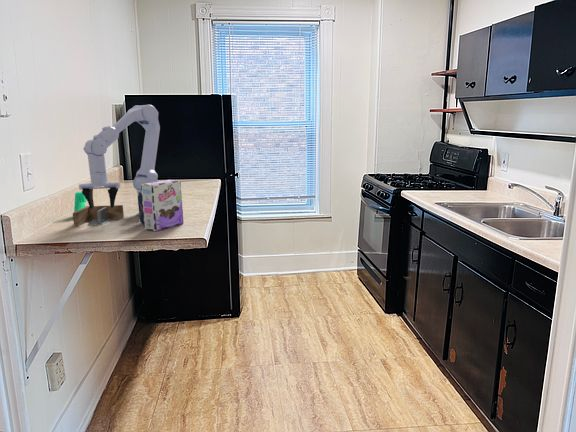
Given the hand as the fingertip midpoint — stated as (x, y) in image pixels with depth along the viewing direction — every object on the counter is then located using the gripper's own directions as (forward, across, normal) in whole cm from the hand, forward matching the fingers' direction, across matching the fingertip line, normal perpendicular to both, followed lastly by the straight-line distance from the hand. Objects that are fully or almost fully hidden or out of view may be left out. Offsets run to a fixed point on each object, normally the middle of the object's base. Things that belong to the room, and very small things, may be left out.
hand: (102, 207), depth 171 cm
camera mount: (+6, -11, +14) cm, 19 cm away
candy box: (+6, +25, -12) cm, 29 cm away
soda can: (+6, +18, -5) cm, 20 cm away
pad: (+6, -2, 0) cm, 6 cm away
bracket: (+6, -2, 0) cm, 6 cm away
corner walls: (+6, -2, 0) cm, 6 cm away
